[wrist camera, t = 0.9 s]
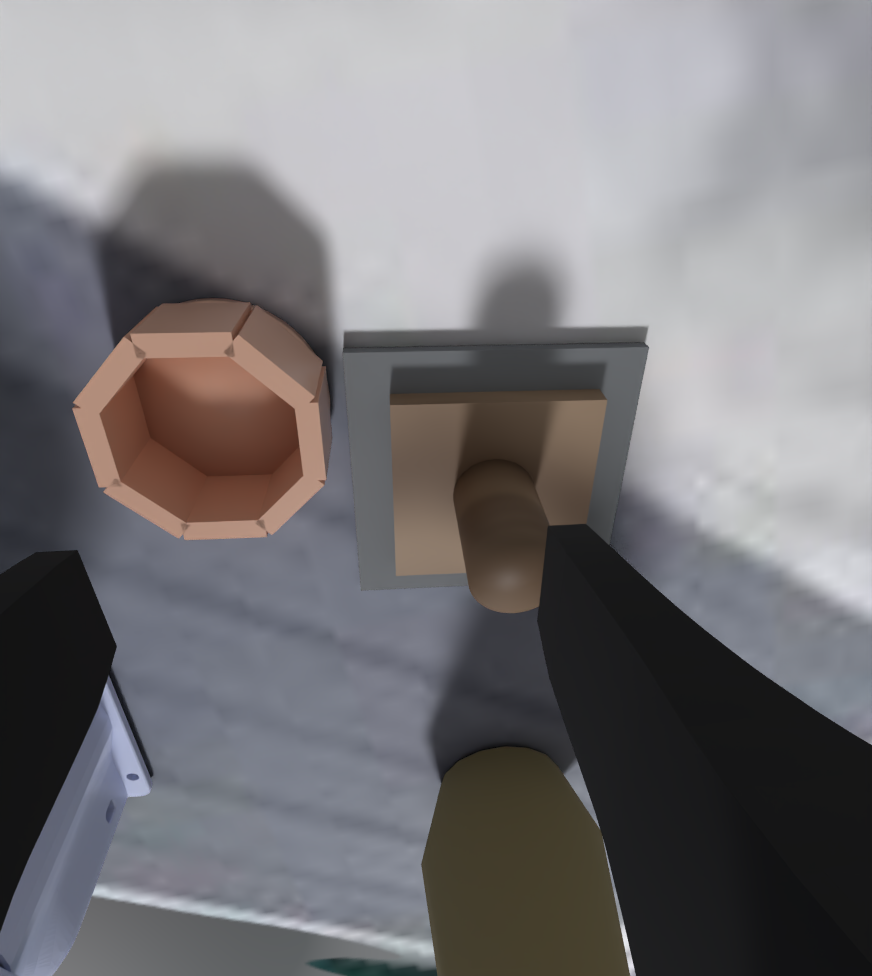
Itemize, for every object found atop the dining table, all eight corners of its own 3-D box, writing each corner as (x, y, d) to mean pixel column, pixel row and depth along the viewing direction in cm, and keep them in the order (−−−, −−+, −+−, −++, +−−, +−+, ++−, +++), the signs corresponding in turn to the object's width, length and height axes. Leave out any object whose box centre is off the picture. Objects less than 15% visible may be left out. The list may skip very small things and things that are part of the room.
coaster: (599, 572, 23) (602, 579, 23) (361, 583, 23) (360, 590, 22) (644, 342, 19) (648, 347, 18) (343, 348, 18) (342, 353, 18)
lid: (572, 553, 22) (615, 655, 18) (395, 561, 22) (398, 666, 18) (599, 389, 19) (658, 468, 15) (389, 393, 18) (391, 477, 14)
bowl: (337, 480, 20) (331, 534, 18) (151, 486, 20) (117, 542, 17) (321, 296, 17) (311, 330, 15) (97, 299, 17) (47, 335, 14)
